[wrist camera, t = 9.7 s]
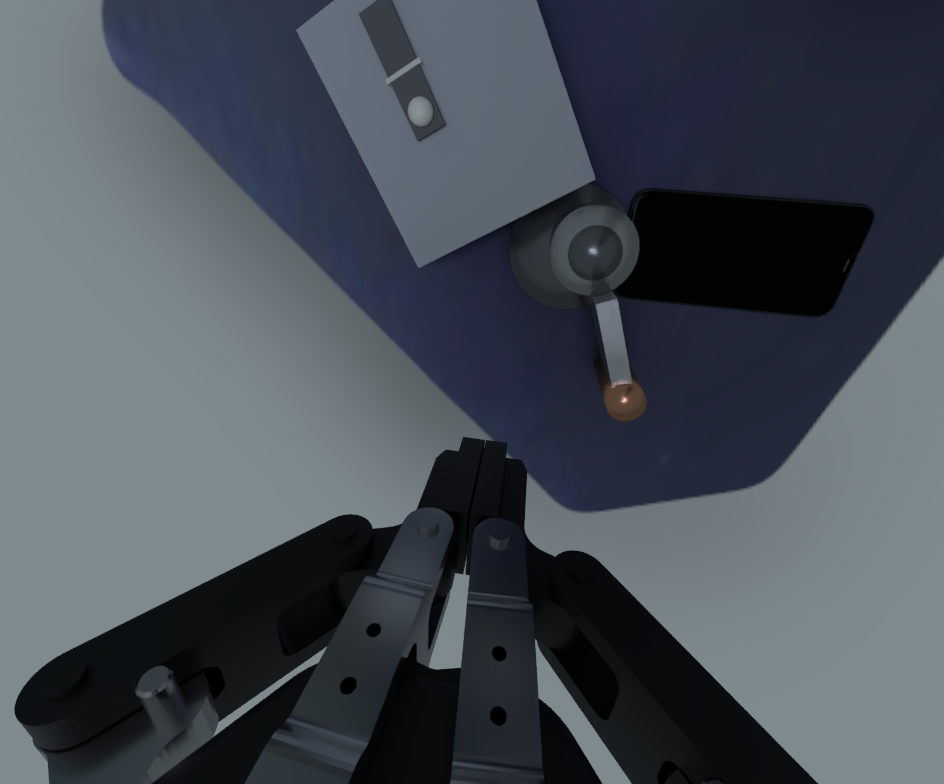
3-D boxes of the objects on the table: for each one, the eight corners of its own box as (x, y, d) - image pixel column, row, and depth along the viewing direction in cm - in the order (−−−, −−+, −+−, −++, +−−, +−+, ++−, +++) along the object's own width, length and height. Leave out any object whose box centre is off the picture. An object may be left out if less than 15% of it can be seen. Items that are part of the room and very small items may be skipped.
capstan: (497, 204, 29) (484, 212, 22) (616, 164, 27) (643, 159, 20) (545, 384, 35) (547, 436, 28) (647, 362, 33) (676, 411, 26)
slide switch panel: (501, -77, 23) (491, -147, 18) (588, 179, 28) (598, 179, 23) (329, 50, 27) (282, 21, 22) (432, 257, 32) (413, 272, 27)
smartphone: (609, 295, 32) (823, 317, 30) (610, 298, 31) (830, 320, 30) (632, 186, 28) (874, 204, 27) (635, 186, 28) (884, 205, 26)
